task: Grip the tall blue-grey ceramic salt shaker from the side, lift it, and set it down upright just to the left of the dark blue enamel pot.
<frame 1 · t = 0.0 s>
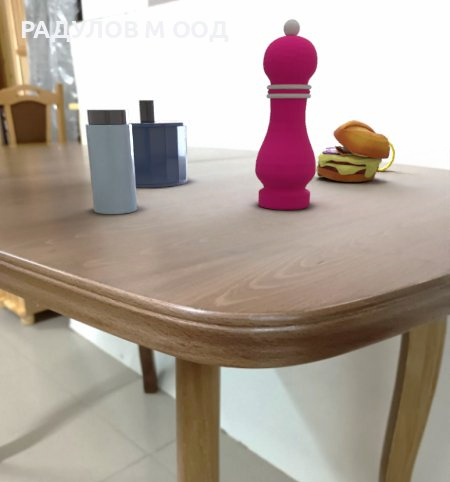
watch: (375, 171, 90), on the table
pepper mill: (283, 206, 60), on the table
pot lid: (148, 125, 74), point 8 cm above the table, touching pot
shaker: (116, 209, 57), on the table
pot: (151, 181, 77), on the table
cheeseburger: (349, 180, 80), on the table
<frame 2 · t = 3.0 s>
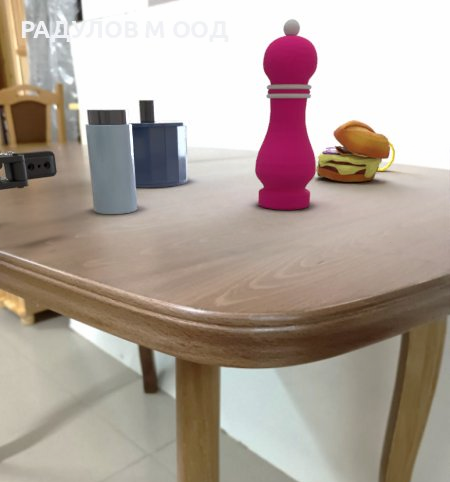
hand: (24, 160, 46), 7 cm above the table, tool horizontal, fingers open, 8 cm apart
nothing on the table moved.
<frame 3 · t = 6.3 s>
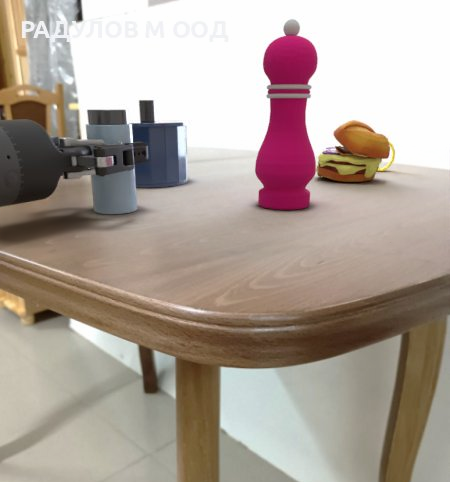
hand: (127, 150, 57), 7 cm above the table, tool horizontal, fingers closed on shaker, 5 cm apart
shaker: (115, 209, 57), on the table, touching gripper
everything else where it was.
when the fingers open (7 cm above the table, at t = 15.2 s): shaker stays where it is, on the table.
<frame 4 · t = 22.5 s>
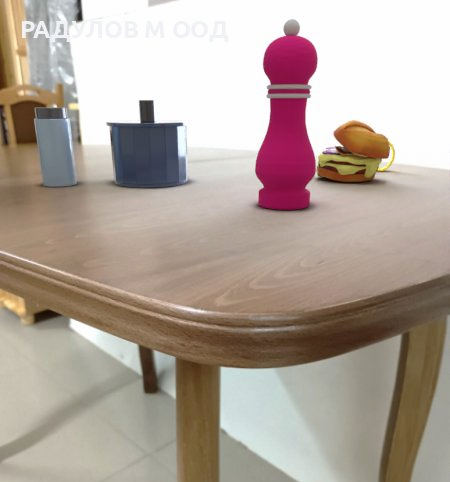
shaker: (60, 184, 75), on the table
everything else where it was.
at the end: shaker inside the target area on the table beside the pot (0.2 cm from its centre), on the table; shaker tilted 0°; the gripper is holding nothing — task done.
